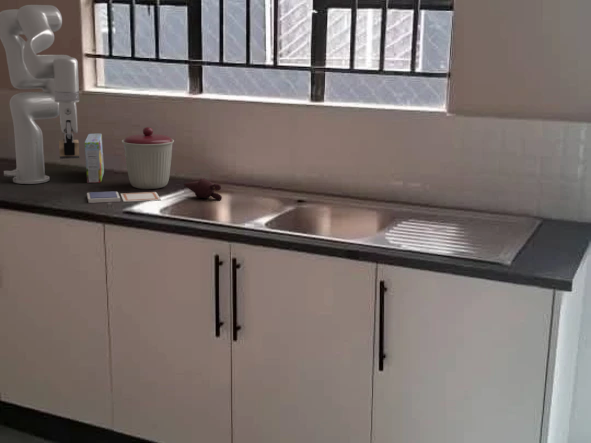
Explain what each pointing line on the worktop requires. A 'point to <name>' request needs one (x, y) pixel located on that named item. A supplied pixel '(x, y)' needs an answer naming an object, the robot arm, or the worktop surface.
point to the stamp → (61, 150)
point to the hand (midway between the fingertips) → (69, 152)
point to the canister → (148, 159)
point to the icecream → (204, 189)
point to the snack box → (94, 158)
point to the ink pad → (103, 197)
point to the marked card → (139, 196)
